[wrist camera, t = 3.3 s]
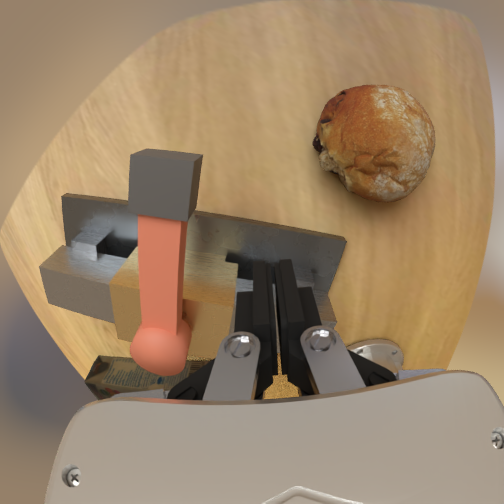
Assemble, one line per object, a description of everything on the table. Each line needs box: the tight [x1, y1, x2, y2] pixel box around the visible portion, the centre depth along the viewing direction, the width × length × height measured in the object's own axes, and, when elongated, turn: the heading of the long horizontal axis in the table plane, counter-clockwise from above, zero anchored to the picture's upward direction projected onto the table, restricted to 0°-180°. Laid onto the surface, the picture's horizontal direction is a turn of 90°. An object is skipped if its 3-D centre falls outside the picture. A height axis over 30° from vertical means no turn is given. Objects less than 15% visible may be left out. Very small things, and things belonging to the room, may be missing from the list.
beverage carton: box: [85, 355, 210, 400], centre depth 33 cm, size 8×19×7 cm, turn 96°
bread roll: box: [313, 85, 435, 202], centre depth 19 cm, size 10×10×8 cm
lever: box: [128, 149, 203, 376], centre depth 16 cm, size 15×4×3 cm, turn 170°
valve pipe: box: [39, 193, 347, 359], centre depth 24 cm, size 28×13×8 cm, turn 80°
